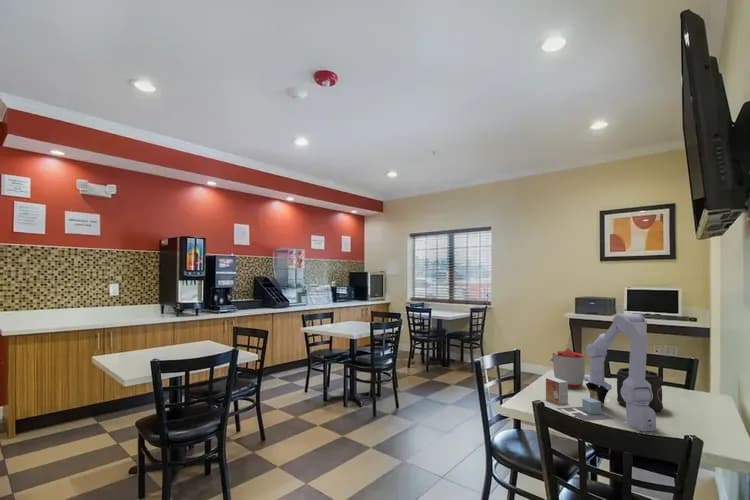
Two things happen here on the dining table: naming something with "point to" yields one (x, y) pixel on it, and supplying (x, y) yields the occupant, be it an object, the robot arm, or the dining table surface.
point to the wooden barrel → (650, 378)
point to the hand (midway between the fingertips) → (597, 401)
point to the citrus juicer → (569, 367)
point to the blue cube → (591, 406)
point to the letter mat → (583, 414)
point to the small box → (557, 390)
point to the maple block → (595, 395)
